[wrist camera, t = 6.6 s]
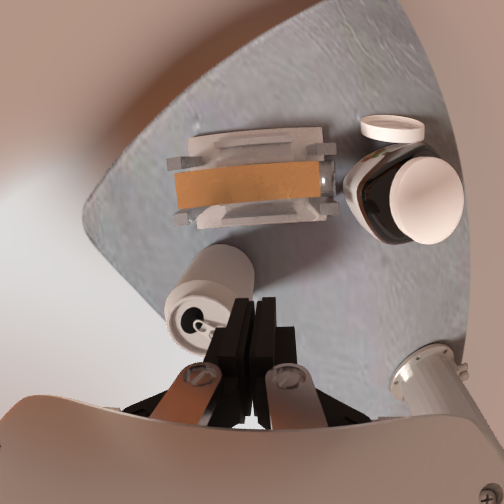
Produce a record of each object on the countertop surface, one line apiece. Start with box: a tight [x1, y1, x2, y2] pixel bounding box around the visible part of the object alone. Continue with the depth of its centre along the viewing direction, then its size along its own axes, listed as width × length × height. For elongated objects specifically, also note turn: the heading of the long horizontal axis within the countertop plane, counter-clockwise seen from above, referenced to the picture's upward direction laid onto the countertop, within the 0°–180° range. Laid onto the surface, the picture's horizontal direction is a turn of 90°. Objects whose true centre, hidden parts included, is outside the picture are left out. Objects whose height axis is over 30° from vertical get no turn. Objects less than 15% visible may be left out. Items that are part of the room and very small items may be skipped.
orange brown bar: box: [174, 161, 336, 209], centre depth 22 cm, size 13×3×2 cm, turn 95°
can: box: [164, 244, 255, 357], centre depth 27 cm, size 8×8×12 cm
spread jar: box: [343, 115, 464, 245], centre depth 22 cm, size 12×11×12 cm
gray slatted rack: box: [166, 127, 339, 229], centre depth 25 cm, size 14×10×8 cm
